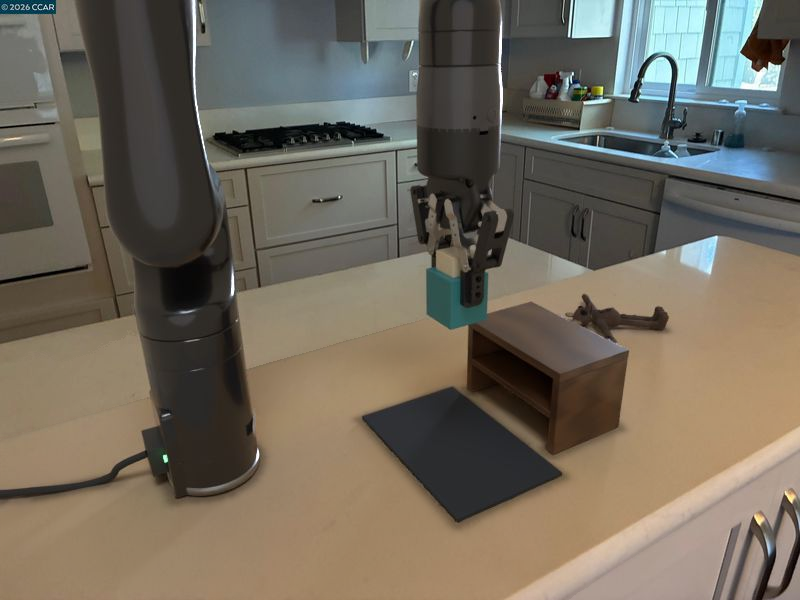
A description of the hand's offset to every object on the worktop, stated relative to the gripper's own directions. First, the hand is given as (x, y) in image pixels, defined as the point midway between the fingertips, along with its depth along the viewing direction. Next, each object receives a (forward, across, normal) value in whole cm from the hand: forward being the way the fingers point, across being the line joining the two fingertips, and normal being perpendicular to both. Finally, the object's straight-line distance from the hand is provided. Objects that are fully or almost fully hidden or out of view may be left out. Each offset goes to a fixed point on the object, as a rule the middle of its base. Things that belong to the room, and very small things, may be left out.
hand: (456, 296), depth 61 cm
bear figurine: (+18, -12, +38) cm, 44 cm away
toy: (+2, 0, 0) cm, 2 cm away
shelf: (+18, -1, +13) cm, 22 cm away
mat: (+18, 0, 0) cm, 18 cm away
